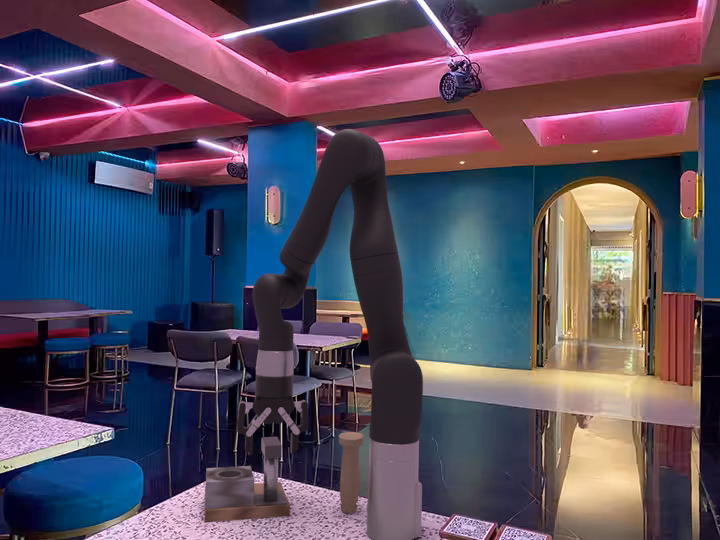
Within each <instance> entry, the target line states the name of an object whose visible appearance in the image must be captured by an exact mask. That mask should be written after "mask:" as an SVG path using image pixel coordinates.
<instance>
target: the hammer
mask: <svg viewBox="0 0 720 540" xmlns="http://www.w3.org/2000/svg"><path fill="white" fill-rule="evenodd" d="M260 445H261V446H260V447H261V448H260V449H261V452H262V454H263V483H264V501H267V502H272V501H276V500H277V499H278V482H279V459H280V458H281V459H282V448H283V446H282V442H281V441H280V439H279V437H278V436H268V437H267V436H266V437H265V436H264V437H261V443H260Z"/></svg>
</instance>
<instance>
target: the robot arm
mask: <svg viewBox="0 0 720 540" xmlns="http://www.w3.org/2000/svg"><path fill="white" fill-rule="evenodd" d="M322 154H323V155H322V157H321V160H320V163H319V166H318V168H317V172H316V175H315V177H314V179H313V183H312V185H311V188H310V190H309V193H308V196H307V198H306V200H305V203H304V205H303V208H302V210H301V212H300V214H299V216H298V219H297V221H295V222H296V223H295V224H294V226H293V228H292V230H291V232H289V235H288V237H287V238H286V240H285V242H284V244H283V246H282V248H281V250H280V252H279V255H278V259H279V262H280V263H281V265H282V266H283V267H284V271H283V272H282V274H276V273H264V274H262V275H260V276H258V278H257V279H256V281H255V282H254V285H253V287H252V295H251V297H252V304H253V307H254V308H253V309H254V313H255V317H256V321H257V326H258V346H257V347H258V348H257V357H256V362H255V363H256V366H255V391H254V393H255V394H254V399H253V402H246V401H244V400H239V402H238V407H237V408H238V409H237V416H236V417H237V418H236V433H238V434H242V435H243V436H244V438H245V440H244V450H245V453H247V455H248V456H253V451H254V450H253V446H254V435H253V434H254V433H255V432H256V431H257V429H259V428H260V426H261V425H262V423H263V424H265V425H271V424H277V425H280V424H283V423H284V422H285V423H286V425H287V426H288V427H289V429H290V430H291V432H290V444H289V445H290V449H289V450H290V454H292V455H293V454H296V451H298V450H299V446H300V445H299V442H300V440H299V439H300V435H301V434H302V433H304V432H307V431H309V404H308V402H307V400H305V399H301V400H299V401H294V398H293V393H294V391H293V390H294V367H295V366H294V364H295V363H294V362H295V360H294V325H293V324H292V323H291V322H290V321H287V320H284V318H283V313H282V309H283V310H284V309H285V310H286V309H287V310H288V309H292V308H294V307H295V306H296V305H298V304H299V302H300V301H301V300H302V298H303V297H304V295H305V292H306V289H307V285H308V281H309V279H310V274H311V270H312V267H313V266H314V265H315V262H316V261H317V259H318V258H319V256H320V254H321V252H322V250H323V248H324V246H325V244H326V242H327V240H328V237H329V234H330V232H331V227H332V221H333V216H334V212H335V210H336V206H337V205H338V202H339V200H340V198H341V197H342V195H343V193H344V192H345V190H346V189H347V188H348V187H349V191H350V194H351V200H352V201H351V202H352V207H353V218H352V219H353V221H352V228H351V232H350V233H351V234H350V241H349V260H350V266H351V272H352V277H353V283H354V286H355V290H356V291H355V292H356V295H357V299H358V302H359V306H360V310H361V313H362V317H363V319H364V323H365V328H366V332H367V334H366V335H367V342H368V354H369V376H370V377H369V378H370V381H371V405H370V407H371V408H370V409H371V410H370V421H369V433H368V435H369V438H368V471H367V472H368V473H367V506H366V508H367V509H366V534H367V536H368V537H369V538H370V539H372V540H412V539H413V540H415V539H418V538H417V537H421V538H422V508H423V507H422V505H423V504H422V503H423V500H422V499H423V484H422V483H421V482H420V481H419V459H420V458H419V456H420V455H419V453H420V452H419V450H420V449H419V448H420V431H421V426H422V421H423V419H422V418H423V396H424V395H423V394H424V379H423V371H422V368H421V366H420V365H419V363H418V361H417V360H416V359H415V358H413V355H412V351H411V349H410V345H409V341H408V340H409V339H408V337H407V334H406V333H407V332H406V329H405V321H404V285H403V284H404V283H403V275H402V274H403V273H402V267H401V261H400V257H399V256H400V254H399V249H398V245H397V241H396V237H395V231H394V225H393V219H392V215H391V211H390V206H389V200H388V189H387V188H388V187H387V176H386V175H387V173H386V160H385V159H386V158H385V155H384V151H383V149H382V146H381V145H380V143H379V142H378V141H377V140H376V139H375V138H374V137H371V136H370V135H368V134H366V133H363V132H362V131H359V130H357V129H353V128H345V129H341V130H339V131H337V132H336V133H334V135H332V137H331V138H330V140H329V141H328V143H327V145H326V147H325V150H324V152H323V153H322ZM294 408H296V410H297V411H298V413H300V414H299V415H300V424H299V425H296V424H295V422H294V421H293V419H292V418H291V417H290V415H291V414H292V411H294ZM251 409H253V411H254V413H255V416H254V417H253V418H252V419H251V422H250V423H249V425H247V426H245V417H246V416H245V415H246V414H249V412H250V410H251ZM414 538H415V539H414Z"/></svg>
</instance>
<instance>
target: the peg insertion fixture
mask: <svg viewBox="0 0 720 540" xmlns="http://www.w3.org/2000/svg"><path fill="white" fill-rule="evenodd" d="M251 466H252V465H247V466H246V465H245V466H243V465H241V466H228V467H226V466H225V467H206V472H205V486H204V523H212V522H222V521H224V522H225V521H236V520H249V519H250V520H251V519H263V518H278V517H277V516H279V517H289V516H291V515H290V511H291V510H290V509H291V508H290V507H291V505H290V502H289V500H288V497H287V494H286V493H285V490H284V488H283V485H282V482H281V481H278V499H277V500H276V501H272V502H267V501H264V482H262V483H261V482H258V483H255V478H254V473H253V470H252V467H251Z"/></svg>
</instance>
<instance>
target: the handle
mask: <svg viewBox="0 0 720 540" xmlns="http://www.w3.org/2000/svg"><path fill="white" fill-rule="evenodd" d="M363 443H364V434H363V433H360V432H355V431H345V432H341V433H339V434H338V444H339V445H341V447H342V455H341V466H340V479H339V498H340V499H339V500H340V510H341V511H342V512H343V514H353V513H356V512H357V510H358V502H359V501H358V500H359V493H360V467H359V466H360V465H359V464H360V463H359V462H360V461H359V460H360V456H359V453H360V452H359V451H360V450H359V449H360V447H361V446H362V445H363Z"/></svg>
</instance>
